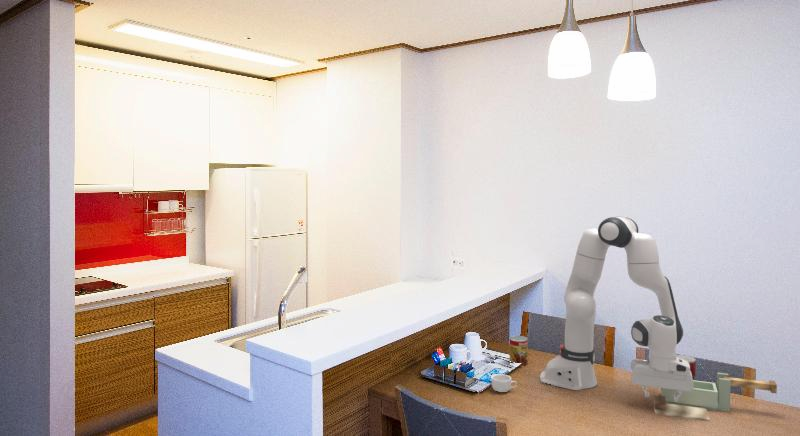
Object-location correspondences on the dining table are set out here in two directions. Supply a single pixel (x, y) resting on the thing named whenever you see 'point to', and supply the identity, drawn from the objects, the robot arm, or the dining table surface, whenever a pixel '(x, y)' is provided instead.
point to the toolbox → (704, 394)
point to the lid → (679, 410)
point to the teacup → (502, 382)
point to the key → (754, 384)
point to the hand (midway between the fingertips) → (661, 398)
